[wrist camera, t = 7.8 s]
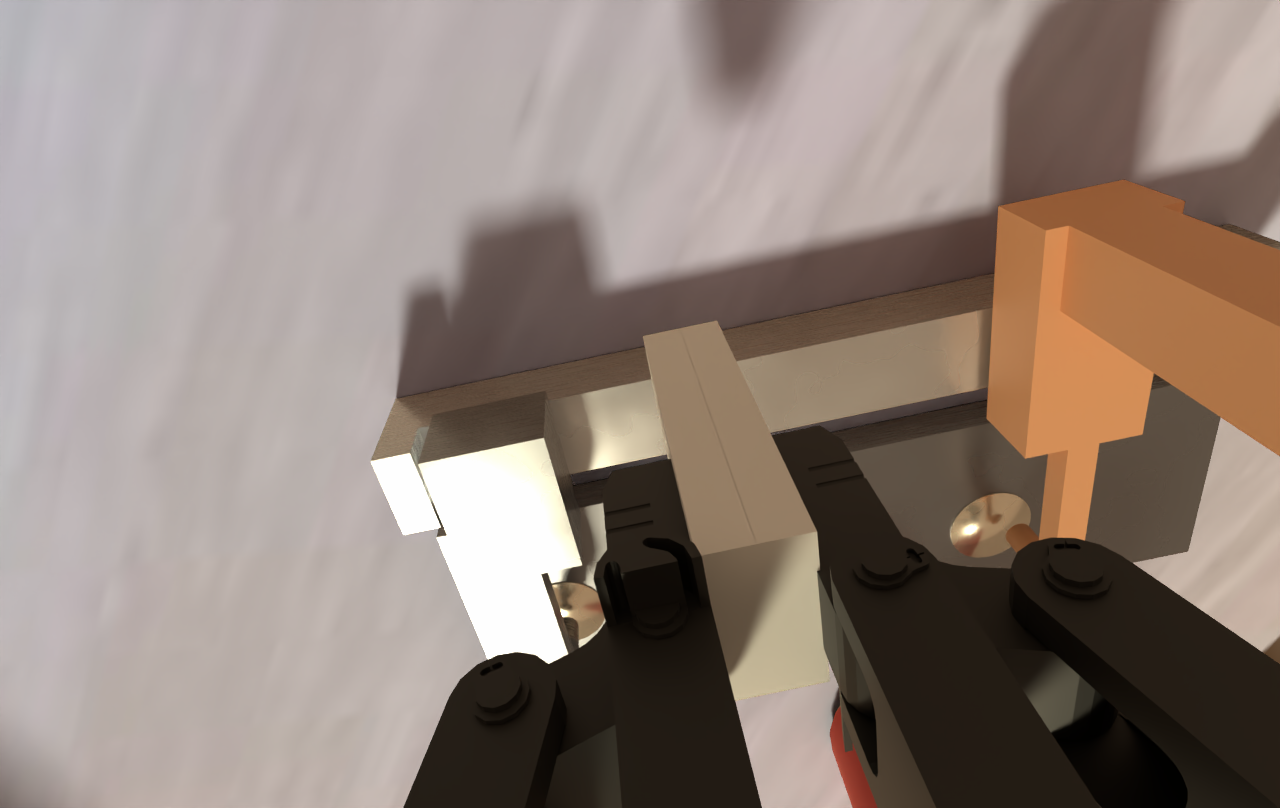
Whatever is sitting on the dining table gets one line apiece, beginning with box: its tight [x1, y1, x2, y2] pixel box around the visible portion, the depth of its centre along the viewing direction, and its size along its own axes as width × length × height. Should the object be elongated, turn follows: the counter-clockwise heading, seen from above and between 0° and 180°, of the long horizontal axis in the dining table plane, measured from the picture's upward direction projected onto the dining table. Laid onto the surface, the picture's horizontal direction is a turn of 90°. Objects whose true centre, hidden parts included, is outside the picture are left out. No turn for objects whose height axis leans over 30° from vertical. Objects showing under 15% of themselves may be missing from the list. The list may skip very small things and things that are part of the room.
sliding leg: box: [986, 180, 1280, 553], centre depth 17 cm, size 3×12×10 cm, turn 10°
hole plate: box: [437, 373, 1220, 659], centre depth 24 cm, size 24×7×1 cm, turn 101°
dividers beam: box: [371, 224, 1280, 664], centre depth 21 cm, size 24×9×4 cm, turn 101°
